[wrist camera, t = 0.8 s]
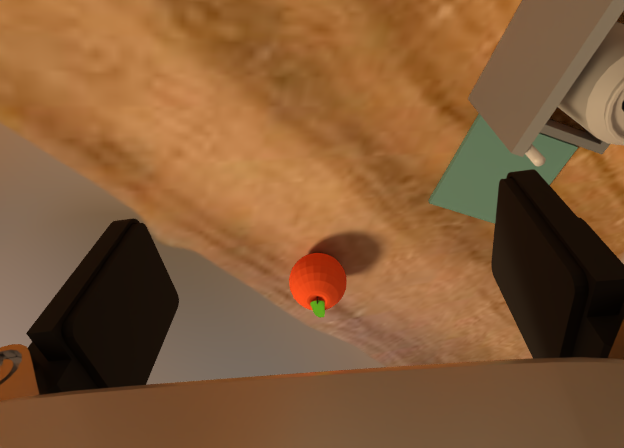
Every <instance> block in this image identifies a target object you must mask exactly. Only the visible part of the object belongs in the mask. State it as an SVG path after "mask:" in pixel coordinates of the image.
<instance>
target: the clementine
mask: <svg viewBox="0 0 624 448" xmlns="http://www.w3.org/2000/svg"><path fill="white" fill-rule="evenodd" d="M289 282H290V290H291V292H292V295H293V297H294V299H295V300H296V301H297V302H298V303H299V304H300V305H302V306H303V307H305V308H307V309H309V310H313V312H314V313H315V315H316V316H318V317H324V314H325V310H326V309H329V308H331V307H332V306H334V305H335V304H337V303H338V302H339V301H340V299H341V298H342V296H343V295H344V292H345V290H346V275H345V271H344V269H343V267H342V266H341V265H340V263H339V262H338V261H337V260H336V259H335V258H333V257H332V256H329V255H327V254H323V253H313V254H308V255H306V256H304V257H302V258H301V259H300V260H298V261H297V263H296V264H295V265H294V267H293V268H292V271H291V274H290V278H289Z"/></svg>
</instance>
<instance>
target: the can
mask: <svg viewBox="0 0 624 448" xmlns="http://www.w3.org/2000/svg"><path fill="white" fill-rule="evenodd" d="M558 108H560V109H561V110H562V111H563V112H565V113H566V114H567V115H568V116H570V117H571V118H572V119H573V120H575V121H576V122H577V123H578V124H580V125H581V126H582V127H584V128H585V129H586V130H587V131H589V132H590V133H591V134H592V135H594V136H595V137H596V138H598V139H600V140H602V141H604V142H606V143H608V144H616V145H624V24H622V23H619V22H615V24H614V25H613V27H612V28H611V30H610V31H609V33H608V34H607V35H606V37H605V38H604V40H603V41H602V43H601V44H600V46H599V47H598V49H597V50H596V51H595V53H594V54H593V56H592V57H591V59H590V60H589V62H588V63H587V64H586V66H585V67H584V69H583V70H582V72H581V73H580V75H579V76H578V78H577V79H576V80H575V82H574V83H573V85H572V86H571V88H570V89H569V91H568V92H567V94H566V95H565V96H564V98H563V99H562V101H561V102H560V104H559V105H558Z"/></svg>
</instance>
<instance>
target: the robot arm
mask: <svg viewBox="0 0 624 448" xmlns="http://www.w3.org/2000/svg"><path fill="white" fill-rule="evenodd" d="M492 272H493V275H494V278H495V280H496V282H497V284H498V286H499V288H500V290H501V293H502V295H503V297H504V299H505V301H506V303H507V305H508V307H509V309H510V311H511V313H512V315H513V317H514V320H515V322H516V324H517V326H518V328H519V330H520V332H521V334H522V336H523V338H524V340H525V342H526V344H527V347H528V349H529V351H530V353H531V355H532V357H533V359H510V360H494V361H476V362H458V363H443V364H428V365H413V366H398V367H383V368H368V369H353V370H339V371H324V372H310V373H296V374H282V375H269V376H255V377H242V378H227V379H214V380H202V381H189V382H176V383H163V384H150V385H146V383H147V380H148V378H149V375H150V373H151V371H152V368H153V366H154V364H155V361H156V359H157V356H158V354H159V351H160V349H161V347H162V344H163V342H164V339H165V337H166V335H167V332H168V330H169V327H170V325H171V322H172V320H173V318H174V315H175V313H176V310H177V308H178V303H179V298H178V294H177V292H176V289H175V287H174V285H173V283H172V281H171V279H170V277H169V274H168V272H167V270H166V268H165V266H164V263H163V261H162V259H161V257H160V255H159V253H158V251H157V248H156V246H155V244H154V242H153V240H152V238H151V235H150V233H149V231H148V229H147V227H146V225H145V224H143V223H140V222H139V221H138V220H136V219H127V220H119V221H113V222H112V223H111V224H110V225H109V227H108V228H107V229H106V231H105V232H104V233H103V234H102V236H101V237H100V238H99V240H98V241H97V242H96V244H95V245H94V246H93V248H92V249H91V250H90V251H89V253H88V254H87V255H86V257H85V258H84V259H83V260H82V262H81V263H80V264H79V266H78V267H77V268H76V270H75V271H74V272H73V273H72V275H71V276H70V277H69V279H68V280H67V281H66V282H65V284H64V285H63V287H62V288H61V289H60V290H59V292H58V293H57V294H56V295H55V297H54V298H53V299H52V301H51V302H50V303H49V305H48V306H47V307H46V308H45V310H44V311H43V312H42V314H41V315H40V316H39V318H38V319H37V320H36V321H35V323H34V324H33V325H32V327H31V328H30V329H29V331H28V332H27V335H28V336H29V337H30V339H31V340H32V343H31V344H30V346H29V347H28V348H27V347H26V346H23V345H21V344H12V345H8V346H4V347H1V348H0V448H624V264H623V263H622V262H621V261H620V260H619V259H618V258H617V257H616V255H615V254H614V253H613V252H612V251H611V250H610V249H609V248H608V246H607V245H606V244H605V243H604V242H603V241H602V240H601V239H600V238H599V236H598V235H597V234H596V233H595V232H594V231H593V230H592V229H591V228H590V226H589V225H588V224H587V223H586V222H585V221H584V220H583V219H581V218H578V217H577V216H576V215H575V214H574V213H573V212H572V211H571V209H570V208H569V207H568V206H567V205H566V204H565V203H564V201H563V200H562V199H561V198H560V197H559V196H558V195H557V194H556V192H555V191H554V190H553V189H552V188H551V187H550V186H549V184H548V183H547V182H546V181H545V180H544V179H543V178H542V177H541V175H540V174H539V173H538V172H537V171H536V170H535V169H531V170H523V171H515V172H509V173H508V175H507V177H506V179H501V180H500V182H499V188H498V199H497V209H496V220H495V231H494V242H493V253H492Z"/></svg>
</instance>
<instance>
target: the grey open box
mask: <svg viewBox="0 0 624 448" xmlns="http://www.w3.org/2000/svg"><path fill="white" fill-rule="evenodd" d="M623 11H624V0H522V2H521V3H520V5H519V7H518V9H517V11H516V12H515V14H514V16H513V18H512V20H511V21H510V23H509V25H508V27H507V29H506V30H505V32H504V34H503V36H502V38H501V39H500V41H499V43H498V45H497V47H496V49H495V50H494V52H493V54H492V56H491V58H490V59H489V61H488V63H487V65H486V67H485V68H484V70H483V72H482V74H481V76H480V77H479V79H478V81H477V83H476V85H475V86H474V88H473V90H472V92H471V94H470V96H469V97H468V100H469V101H470V102H471V104H472V105H473V106H474V107H475V109H476V110H477V111H478V112H479V114H480V115H481V116H482V117H483V119H484V120H485V121H486V122H487V124H488V125H489V126H490V127H491V129H492V130H493V131H494V132H495V134H496V135H497V136H498V137H499V139H500V140H501V141H502V142H503V144H504V145H505V146H506V147H507V149H508V150H509V151H510V152H511V153H512V154H515V155H518V156H521V157H523V156H524V155H525V154H526V156H527V157H528V158H529V159H530V160H531V161H532V163H533V164H534V165H535V166H542V165H543V164H544V163H545V161H546V159H545V157H544V156H543V155H542V154H541V153H540V152H539V151H538V150H537V149H536V148H535V147H534V146H533V145H532V143H533V142H534V140H535V139H536V137H537V136H538V134H539V133H543V134H546V135H549V136H552V137H555V138H557V139H560V140H563V141H566V142H569V143H572V144H574V145H577V146H580V147H583V148H586V149H588V150H591V151H594V152H597V153H600V154H603V152H604V151H605V150H606V149H607V147H608V146H609V145H610V144H608V143H606V142H604V141H602V140H600V139H598V138H596V137H595V136H594V135H592V134H591V133H590V132H589V131H587V130H586V131H585V132H584V131H581V130H578V129H576V128H573V127H570V126H567V125H565V124H562V123H559V122H556V121H553V120H551V119H549V118H550V117H551V115H552V114H553V112H554V111H555V110H556V108H557V107H558V105H559V104H560V102H561V101H562V99H563V98H564V96H565V95H566V94H567V92H568V91H569V89H570V88H571V86H572V85H573V83H574V82H575V80H576V79H577V78H578V76H579V75H580V73H581V72H582V70H583V69H584V67H585V66H586V64H587V63H588V62H589V60H590V59H591V57H592V56H593V54H594V53H595V51H596V50H597V49H598V47H599V46H600V44H601V43H602V41H603V40H604V38H605V37H606V35H607V34H608V33H609V31H610V30H611V28H612V27H613V25H614V24H615V22H616V21H617V19H618V18H619V17H620V15H621V14H622V12H623Z"/></svg>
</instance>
